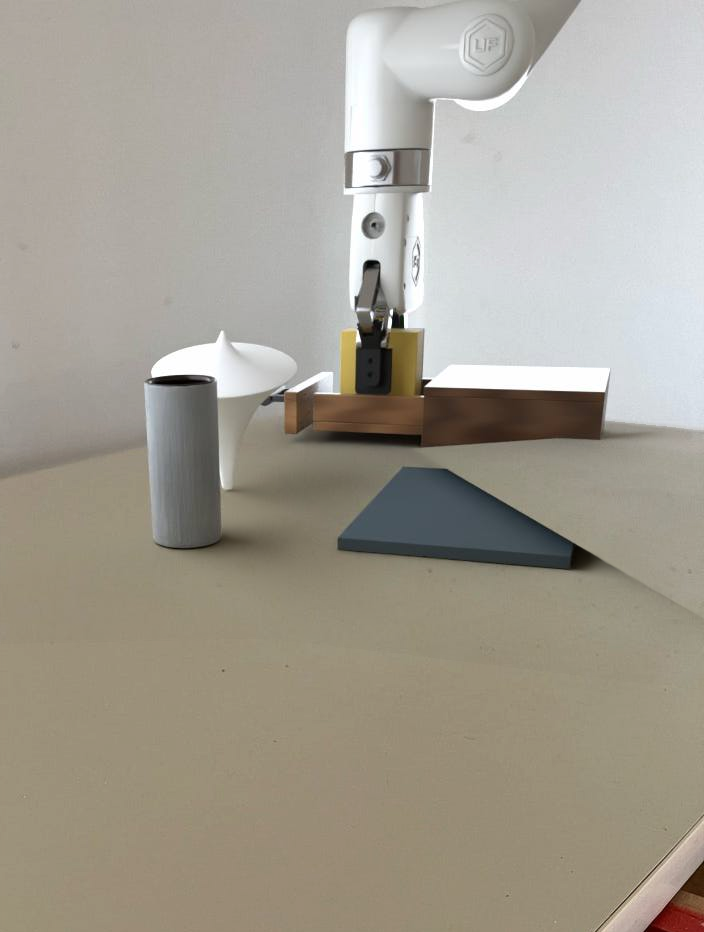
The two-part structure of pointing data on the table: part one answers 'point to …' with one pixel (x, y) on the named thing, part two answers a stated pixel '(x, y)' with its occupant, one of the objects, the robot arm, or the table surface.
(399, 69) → the robot arm
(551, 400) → the cabinet
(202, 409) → the planter
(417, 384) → the sponge
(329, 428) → the drawer
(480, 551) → the mat
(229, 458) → the white spinning top
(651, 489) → the table surface
